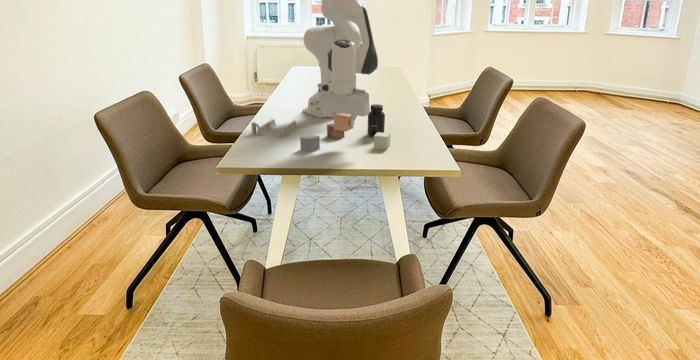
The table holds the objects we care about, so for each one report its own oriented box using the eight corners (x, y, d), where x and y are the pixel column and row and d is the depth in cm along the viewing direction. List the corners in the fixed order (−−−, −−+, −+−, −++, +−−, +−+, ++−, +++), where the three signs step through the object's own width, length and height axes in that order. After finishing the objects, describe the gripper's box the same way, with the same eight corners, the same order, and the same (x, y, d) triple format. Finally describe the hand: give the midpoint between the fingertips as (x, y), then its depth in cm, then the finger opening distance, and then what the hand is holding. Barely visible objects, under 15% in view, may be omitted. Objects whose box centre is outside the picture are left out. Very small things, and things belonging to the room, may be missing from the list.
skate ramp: (282, 138, 211) (282, 126, 209) (252, 135, 214) (251, 123, 212) (296, 128, 224) (295, 116, 222) (267, 126, 228) (266, 114, 226)
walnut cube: (327, 136, 212) (326, 124, 210) (337, 134, 215) (337, 122, 213) (333, 139, 208) (333, 127, 206) (344, 137, 211) (344, 125, 209)
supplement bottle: (370, 137, 210) (370, 108, 206) (365, 133, 216) (365, 104, 212) (386, 136, 212) (387, 107, 208) (381, 131, 218) (381, 103, 214)
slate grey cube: (300, 149, 196) (300, 136, 194) (309, 146, 200) (309, 133, 198) (310, 152, 193) (310, 139, 191) (319, 149, 197) (319, 136, 195)
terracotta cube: (334, 129, 195) (334, 116, 194) (341, 126, 199) (341, 113, 197) (345, 131, 193) (345, 118, 191) (353, 128, 197) (353, 115, 195)
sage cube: (373, 148, 198) (374, 135, 196) (377, 144, 202) (377, 132, 200) (387, 149, 196) (387, 136, 194) (390, 145, 201) (390, 133, 199)
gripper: (373, 89, 188) (372, 126, 193) (325, 82, 198) (326, 118, 203) (364, 92, 183) (363, 130, 188) (315, 85, 193) (316, 122, 198)
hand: (343, 124), depth 196 cm, fingers closed on terracotta cube, 5 cm apart
